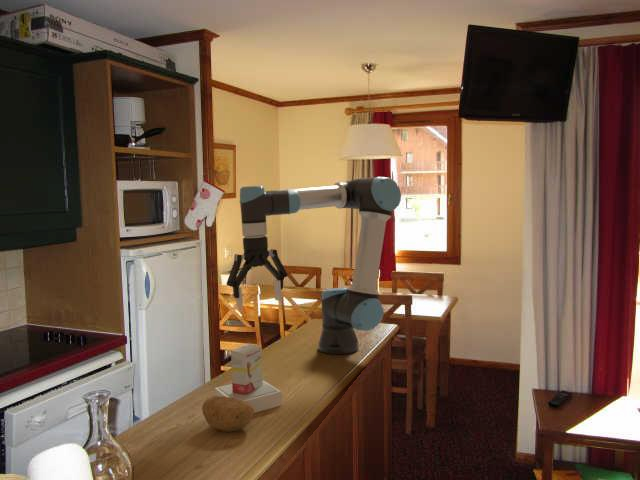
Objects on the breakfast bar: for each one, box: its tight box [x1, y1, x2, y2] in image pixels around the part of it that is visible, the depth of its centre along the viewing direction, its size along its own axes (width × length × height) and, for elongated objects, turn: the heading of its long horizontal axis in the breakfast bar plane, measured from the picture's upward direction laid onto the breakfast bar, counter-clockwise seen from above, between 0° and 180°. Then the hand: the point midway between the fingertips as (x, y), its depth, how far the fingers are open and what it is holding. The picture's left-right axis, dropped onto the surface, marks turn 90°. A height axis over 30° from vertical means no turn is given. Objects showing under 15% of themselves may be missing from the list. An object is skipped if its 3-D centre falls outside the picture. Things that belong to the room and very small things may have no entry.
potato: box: [201, 396, 255, 433], centre depth 134 cm, size 10×14×8 cm
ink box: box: [230, 343, 264, 395], centre depth 149 cm, size 9×5×12 cm, turn 151°
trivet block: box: [214, 380, 283, 414], centre depth 150 cm, size 14×14×4 cm
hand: (259, 304), depth 164 cm, fingers open, 13 cm apart
